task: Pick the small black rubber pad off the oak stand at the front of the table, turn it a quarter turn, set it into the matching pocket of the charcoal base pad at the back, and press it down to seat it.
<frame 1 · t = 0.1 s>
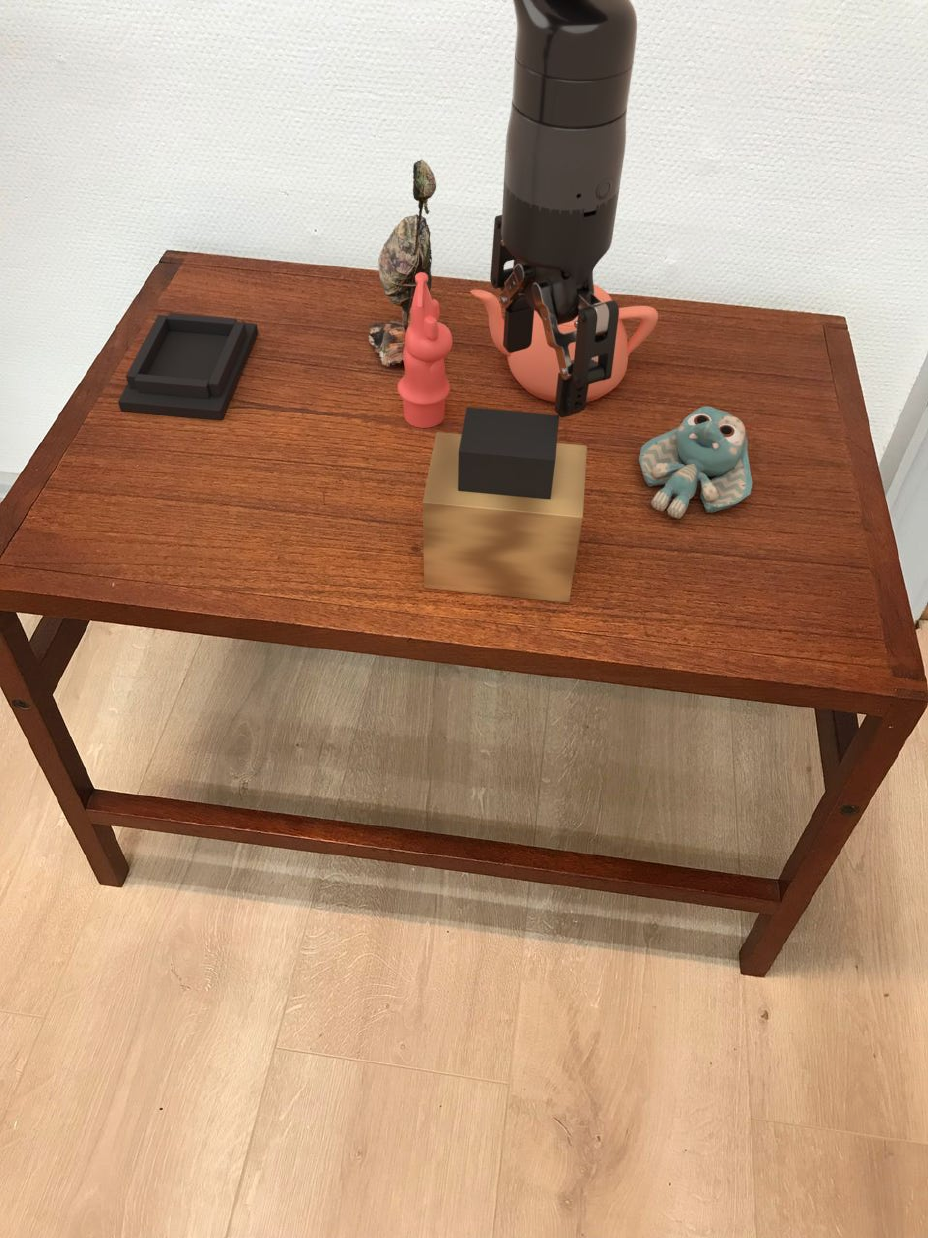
hand: (542, 379, 76), 14 cm above the table, tool pointing down, fingers open, 8 cm apart
figurine: (425, 416, 94), on the table
teapot: (557, 372, 99), on the table
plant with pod: (407, 341, 102), on the table
base pad: (192, 370, 98), on the table
stuffed animal: (690, 485, 89), on the table
oak stand: (500, 559, 83), on the table
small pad: (507, 472, 75), point 10 cm above the table, touching oak stand
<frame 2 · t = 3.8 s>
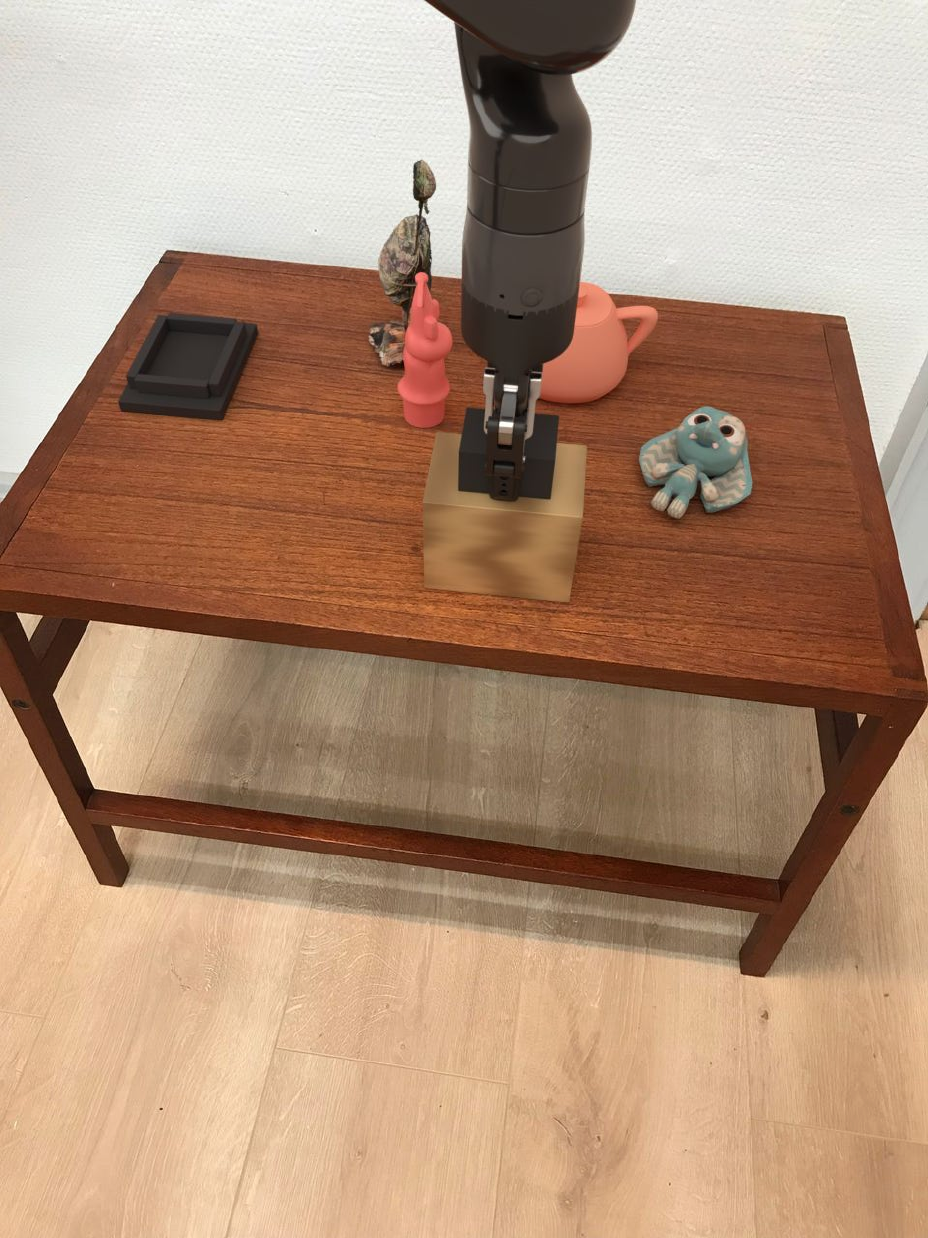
hand: (507, 471, 75), 10 cm above the table, tool pointing down, fingers closed on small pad, 5 cm apart
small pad: (507, 472, 75), point 10 cm above the table, touching gripper, oak stand
everything else where it was.
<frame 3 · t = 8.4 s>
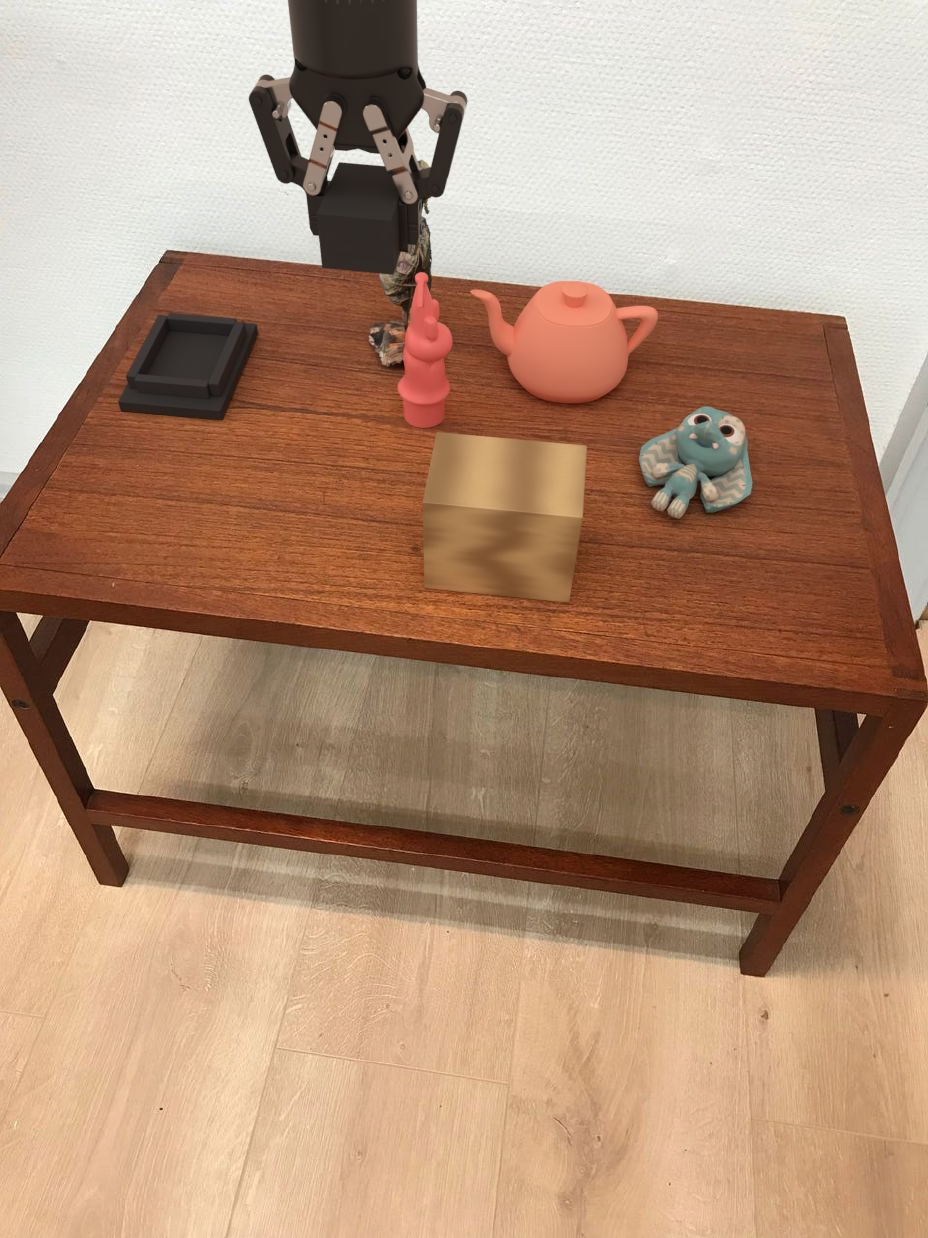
hand: (367, 241, 69), 24 cm above the table, tool pointing down, fingers closed on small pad, 5 cm apart
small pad: (367, 244, 69), point 24 cm above the table, touching gripper
everything else where it was.
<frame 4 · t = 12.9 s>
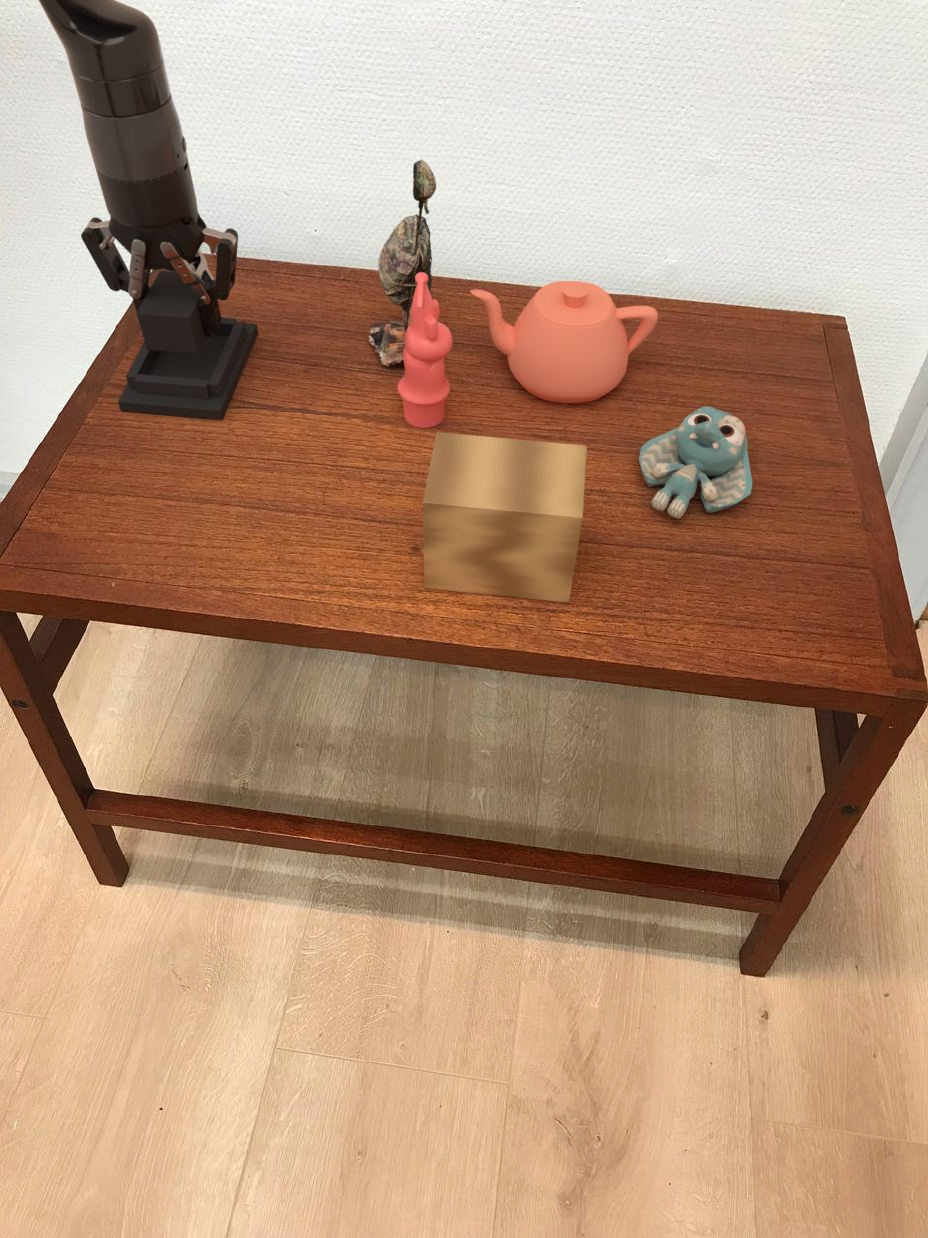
hand: (182, 328, 94), 5 cm above the table, tool pointing down, fingers closed on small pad, 5 cm apart
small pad: (183, 329, 94), point 5 cm above the table, touching gripper
everything else where it was.
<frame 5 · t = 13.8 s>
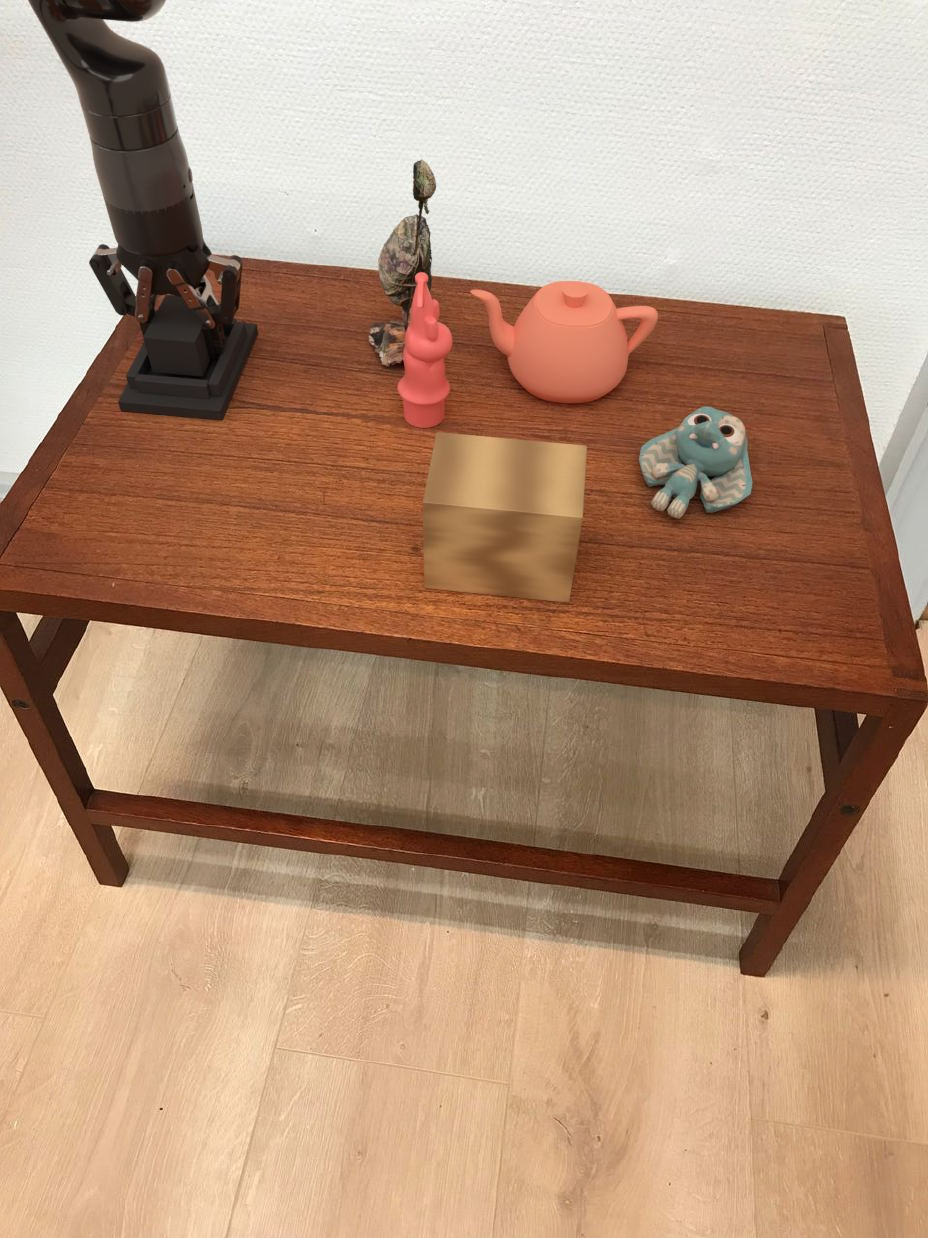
hand: (187, 351, 96), 2 cm above the table, tool pointing down, fingers closed on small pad, 5 cm apart
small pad: (188, 352, 96), point 2 cm above the table, touching gripper
everything else where it was.
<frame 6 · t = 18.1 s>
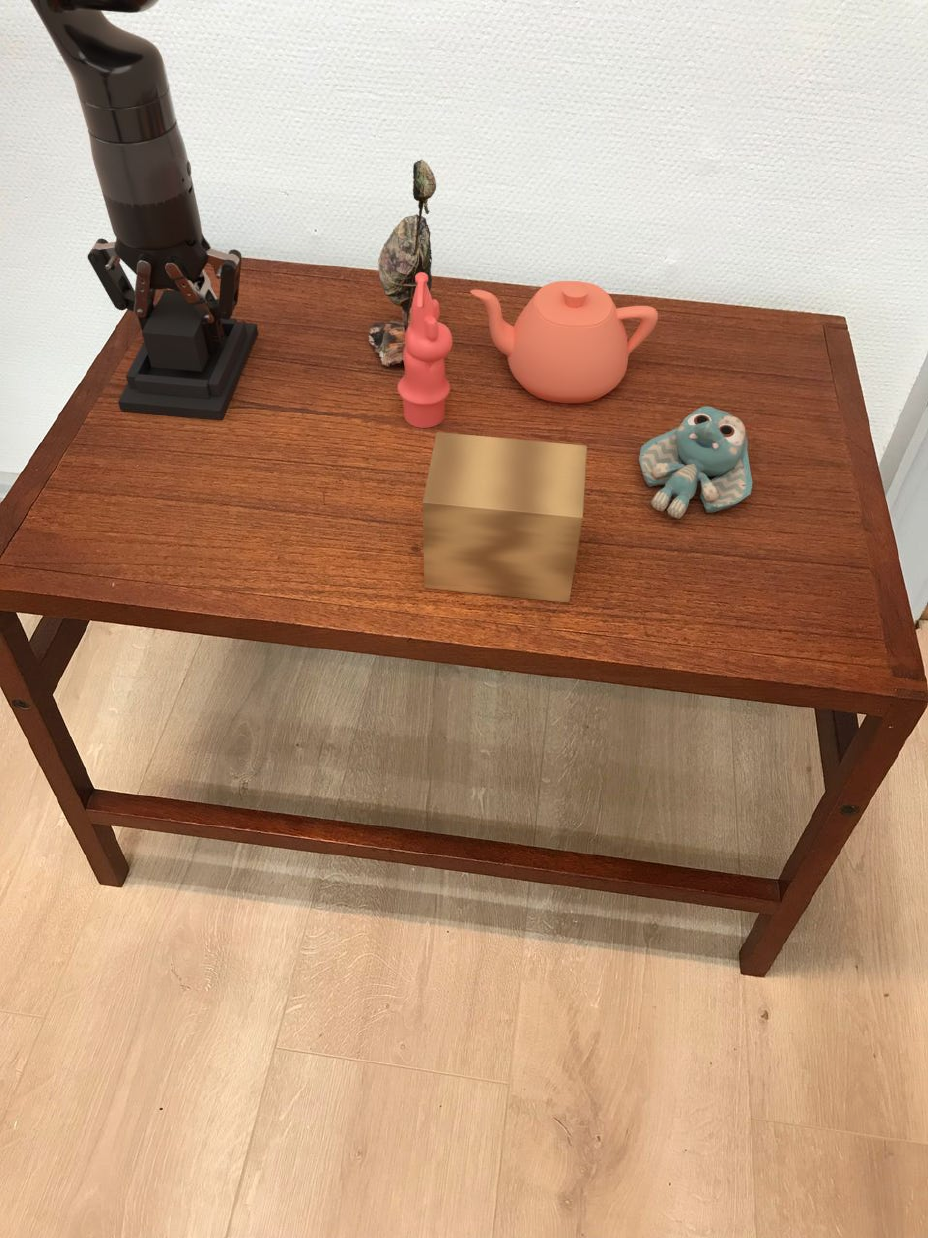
hand: (186, 346, 96), 3 cm above the table, tool pointing down, fingers closed on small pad, 5 cm apart
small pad: (187, 347, 96), point 3 cm above the table, touching gripper
everything else where it was.
when the fingers open (3 cm above the table, at t = 22.2 s): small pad drops 2 cm, resting on base pad.
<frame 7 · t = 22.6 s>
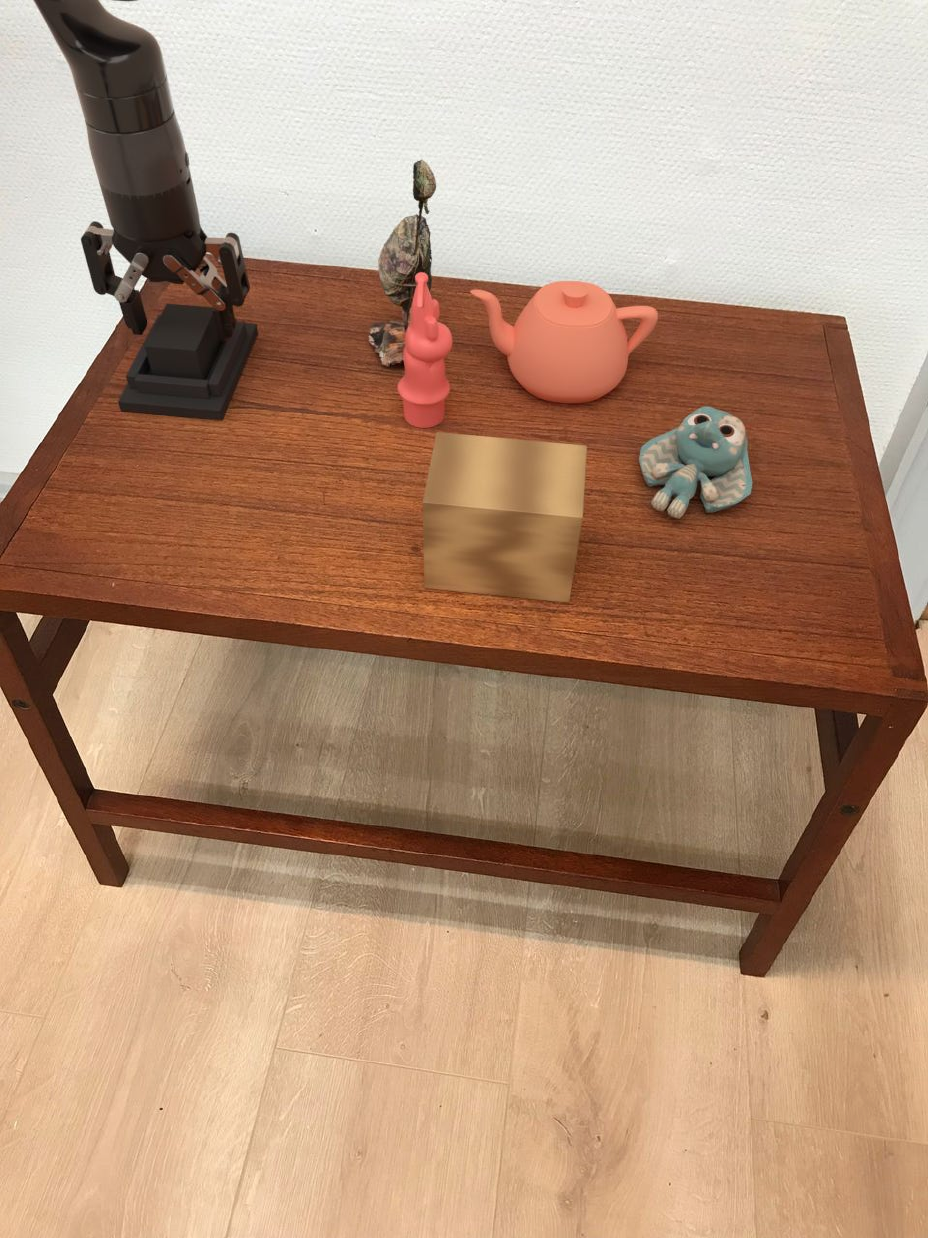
hand: (183, 333, 94), 4 cm above the table, tool pointing down, fingers open, 8 cm apart
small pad: (189, 360, 97), point 1 cm above the table, touching base pad
everything else where it was.
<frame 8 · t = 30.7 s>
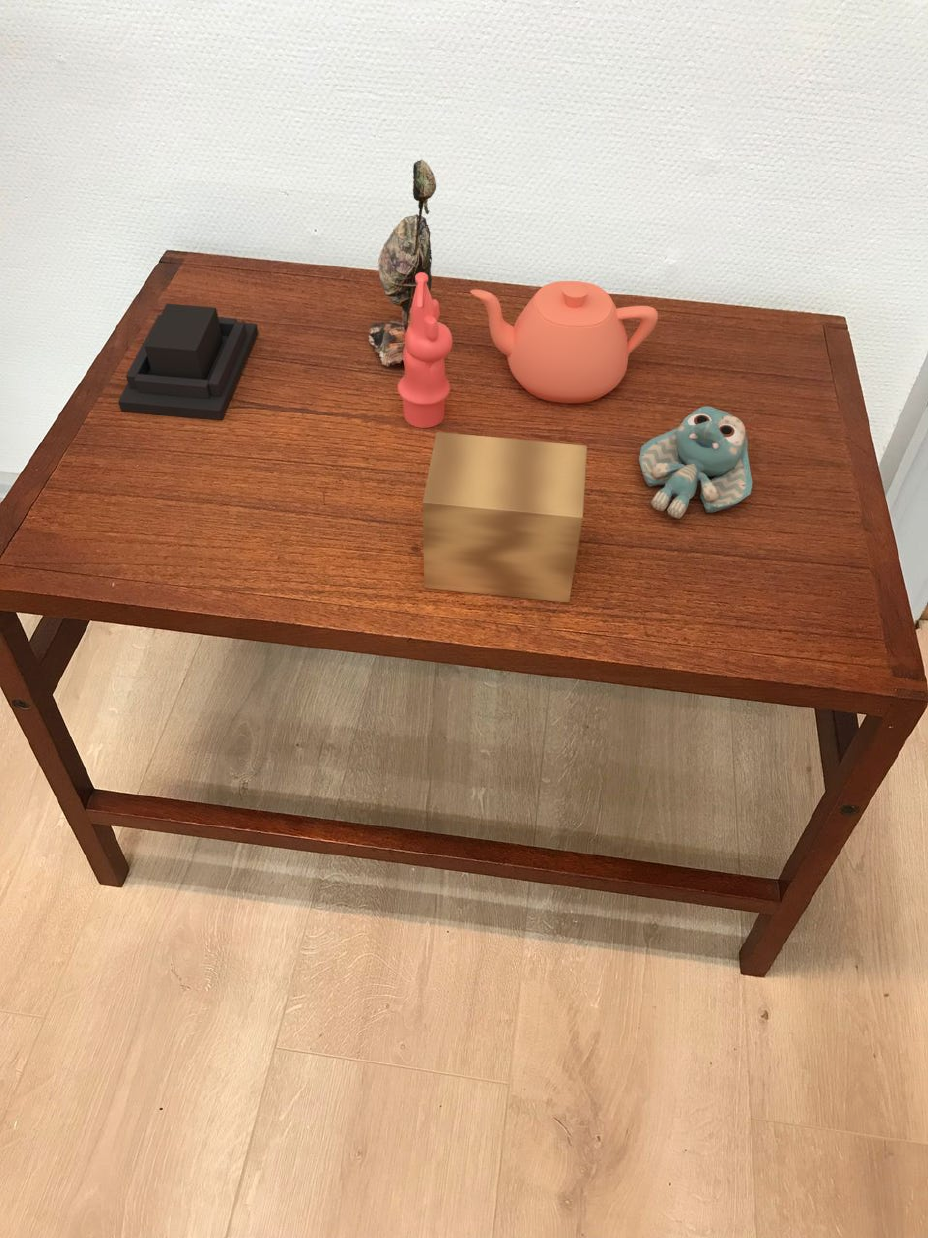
nothing on the table moved.
at the end: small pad 0.1 cm off-centre on the base pad, point 1.2 cm above the base pad's base; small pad tilted 0°; the gripper is holding nothing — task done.
